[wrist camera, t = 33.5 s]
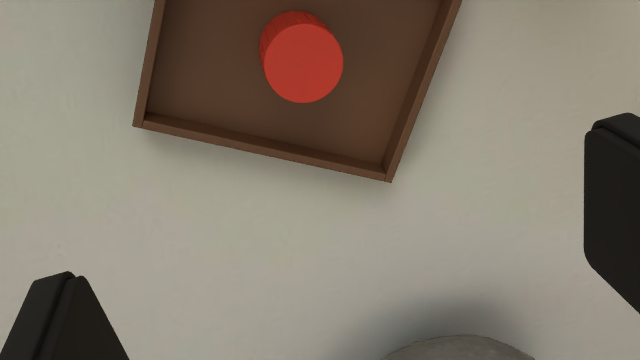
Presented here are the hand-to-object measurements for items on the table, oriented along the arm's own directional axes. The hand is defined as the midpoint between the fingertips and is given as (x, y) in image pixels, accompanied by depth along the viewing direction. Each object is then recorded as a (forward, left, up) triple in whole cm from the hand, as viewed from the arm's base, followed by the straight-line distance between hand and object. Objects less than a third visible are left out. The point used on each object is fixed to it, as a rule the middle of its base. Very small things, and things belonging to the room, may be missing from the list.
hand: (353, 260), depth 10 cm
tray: (+2, -1, -23) cm, 23 cm away
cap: (+2, -1, -22) cm, 22 cm away
